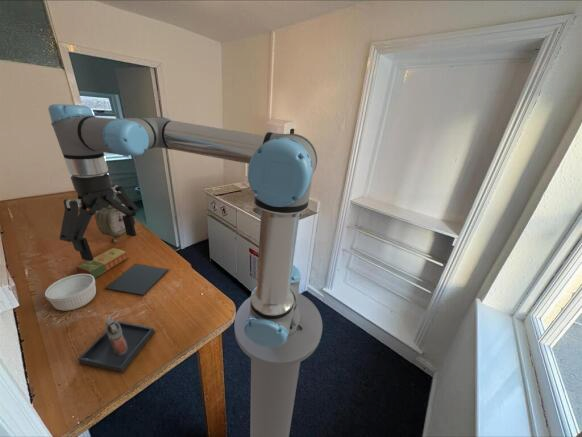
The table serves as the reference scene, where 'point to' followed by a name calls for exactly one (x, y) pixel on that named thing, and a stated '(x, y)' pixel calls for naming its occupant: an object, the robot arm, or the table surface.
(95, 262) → the carton
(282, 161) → the robot arm
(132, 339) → the tray
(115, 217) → the tabletop clock
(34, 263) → the table surface
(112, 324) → the lighter
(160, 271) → the mat
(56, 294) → the ramekin
